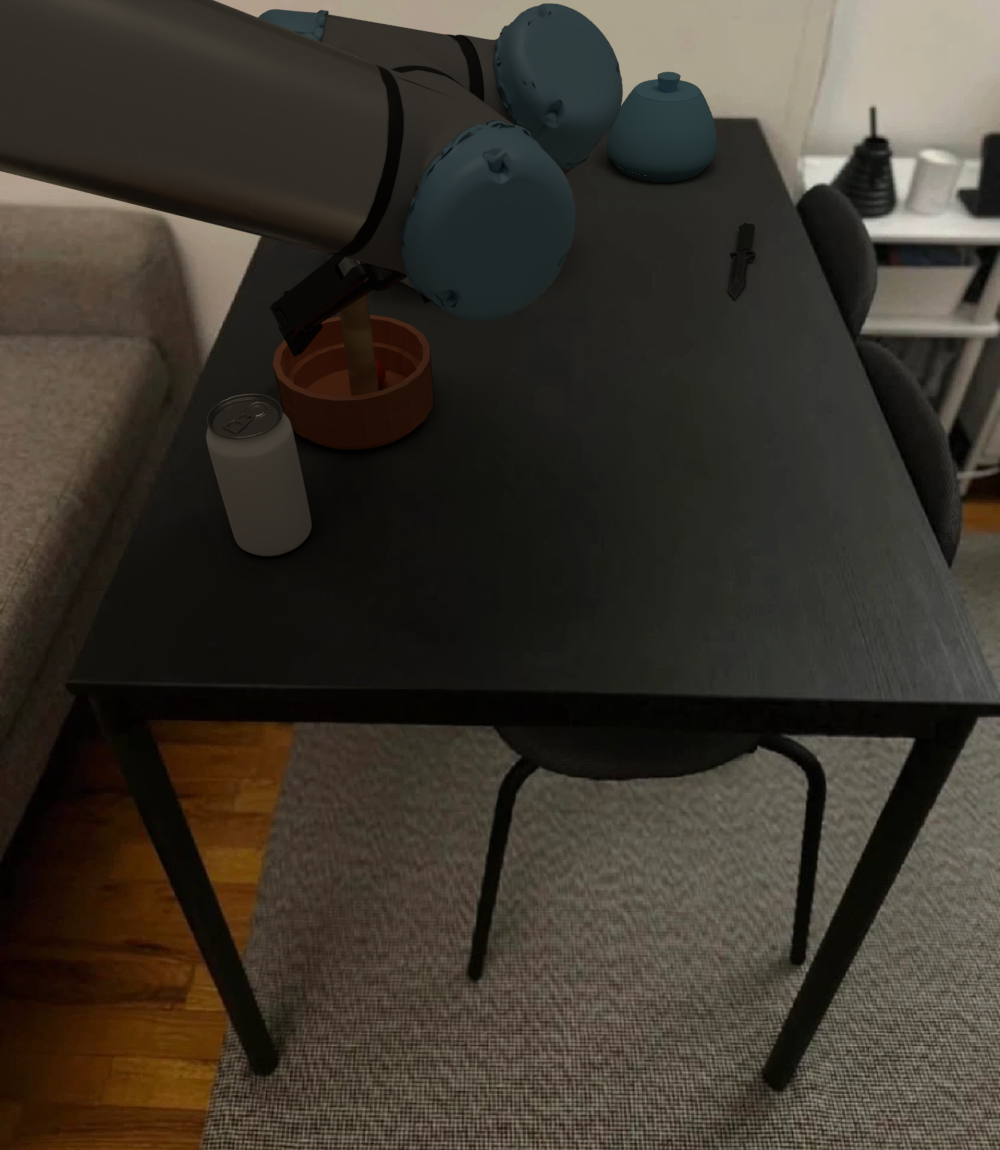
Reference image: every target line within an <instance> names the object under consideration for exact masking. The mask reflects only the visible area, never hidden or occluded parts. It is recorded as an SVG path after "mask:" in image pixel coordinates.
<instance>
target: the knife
mask: <svg viewBox="0 0 1000 1150" xmlns="http://www.w3.org/2000/svg"><path fill="white" fill-rule="evenodd" d="M755 228H756V225H755V224H754V223H748V222H743V223H742V224H739V226H738V230H739V233H738V239H737V246H736V251H731V252H729V257H730V258H732V262H731V268H730V274H729V279H728V287H727V292H728V293H729V295H730V296H731V297H732V298H733V299H734V300H736V299H737V298H738V296H739V295H740V294H741V293H742V292H743V290H744V288H745V287H746V285H747V276H748V268H749V261H751V260H756V256H757V252H756V251H755V250H752V249H753V244H754V237H755V231H756V230H755Z"/></svg>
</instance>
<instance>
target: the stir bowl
mask: <svg viewBox="0 0 1000 1150" xmlns="http://www.w3.org/2000/svg"><path fill="white" fill-rule="evenodd" d="M370 322H371V331H372V339H373V347H374V356H375V359H377V360H379V361H380V362H381V363H382V364H383V366H384V368H385V371H386V377H385V380H384V382H383V384H382V385H381V386H379V387H378V389H379V391H376V392H372V393H367V394H362V395H353V396H351V389H350V382H349V376H348V369H347V362H346V355H345V348H344V341H343V334H342V327H341V321H340V315H338V316H334V317H333V316H332V317H330V318H329V319H327V320H325V321H324V322H322V323H321V324H322V326H323V328H322V329H321V330H320V332H319V333H318V334H317V335H316V337H315V338H314V339H313V340H312V342H311V343H310V344H309V345H308V347H307V348H306V349H305V350H304V351H303V353H302V354H300V355H297V356H295V357H294V356H293V354H292V352H291V350H290V349H289V347H288V345H287V343H286V341H285V339H283V341H282V342H281V343H280V345H279V346H278V347H277V348H276V349H275V352H274V356H273V360H272V368H273V373H274V378H275V383H276V387H277V392H278V397H279V403H280V404H281V406H282V409H283V413H284V414H285V415H286V416H287V417H288V419H289V421H290V423H291V426H292V430H293V432H295V433H296V434H297V435H298V436H300V437H302V438H304V439H306V440H308V441H310V442H312V443H314V444H316V445H320V446H322V447H326V448H329V449H335V450H345V451H358V450H368V449H373V448H379V447H381V446H386V445H390V444H391V443H394V442H397V441H398V440H399V441H400V440H401V439H402V438H404V437H406V436H408V435H409V434H411V433H412V432H413V431H414V430H415V429H416V428H418V427H419V426H420V425H421V424H423V422H425V420H427V418H428V416H429V415H430V412H431V411H432V409H433V407H434V379H433V366H432V351H431V345H430V343H429V342H428V339H427V338H426V336H425V334H424V333H422V332H421V331H420V330H419V329H417V328H416V327H415V326H413V325H411V324H410V323H407V322H404V321H402V320H399V319H396V318H394V317H390V316H382V315H377V314H376V315H375V314H370Z"/></svg>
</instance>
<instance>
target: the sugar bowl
mask: <svg viewBox="0 0 1000 1150" xmlns="http://www.w3.org/2000/svg"><path fill="white" fill-rule="evenodd" d="M681 77H682V76H681V75H680V74H679V73H678V72H676V71H675V72H674V71H662V72H660V73H658V74H657V78H655V79H648V80H645V81H642V82H640V83H637V84H636V85H635V86H634V87H633V88H632V90H631V91H630V92H629V94H628V95H627V96H626V98H625V99H624V100H623V101H622V104H621V108H620V111H619V114H618V116H617V118H616V120H615V122H614V124H613V125H612V127H611V128H610V129H609V130H608V135H607V140H606V152H607V154H608V156H609V158H610V160H611V162H612V163H613V164H614V166H616V168H617V169H618V170H619V171H620V172H621V173H623V174H624V175H626V176H628V177H630V178H634V179H636V180H641V181H647V182H653V183H673V182H680V181H685V180H686V181H687V180H688V179H692V178H694V177H696V176H698V175H700V173H702V172H703V171H705V169H706V168H707V167H708V166H709V165H710V164H711V163H712V162H713V161H714V159H715V156H716V155H717V147H718V141H717V140H718V139H717V138H718V137H717V128H716V123H715V119H714V115H713V113H712V110H711V108H710V106H709V104H708V101H707V99H706V97H705V95H704V94H703V92H702V90H701V89H700V88H699V86H697V85H696V84H694V83H692V82H689V81H685V80H681ZM618 166H619V167H618ZM620 167H621V168H620ZM622 168H623V169H622ZM629 171H630V172H629ZM632 172H633V173H632ZM635 173H636V174H635ZM639 174H640V175H639ZM644 175H647V176H644Z"/></svg>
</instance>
